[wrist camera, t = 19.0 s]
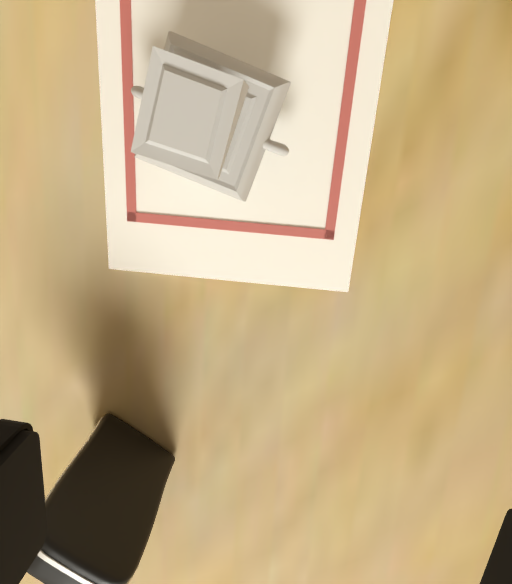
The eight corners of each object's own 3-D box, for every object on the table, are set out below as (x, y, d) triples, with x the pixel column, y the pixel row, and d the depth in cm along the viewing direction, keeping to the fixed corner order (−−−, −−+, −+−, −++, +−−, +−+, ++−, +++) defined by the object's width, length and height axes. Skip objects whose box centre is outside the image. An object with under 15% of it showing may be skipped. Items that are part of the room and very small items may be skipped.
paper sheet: (413, -135, 22) (415, -139, 22) (347, 290, 30) (348, 292, 30) (90, -149, 23) (86, -153, 22) (110, 267, 31) (108, 269, 30)
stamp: (130, 147, 28) (64, 159, 20) (161, 30, 25) (98, -10, 17) (269, 202, 28) (257, 235, 20) (311, 91, 26) (317, 80, 18)
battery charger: (83, 437, 36) (-6, 569, 26) (107, 407, 35) (23, 533, 24) (154, 483, 37) (97, 629, 27) (180, 456, 36) (131, 597, 26)
